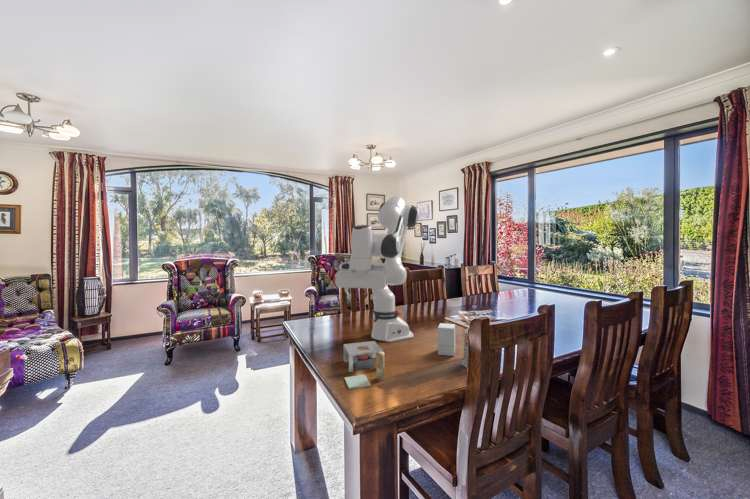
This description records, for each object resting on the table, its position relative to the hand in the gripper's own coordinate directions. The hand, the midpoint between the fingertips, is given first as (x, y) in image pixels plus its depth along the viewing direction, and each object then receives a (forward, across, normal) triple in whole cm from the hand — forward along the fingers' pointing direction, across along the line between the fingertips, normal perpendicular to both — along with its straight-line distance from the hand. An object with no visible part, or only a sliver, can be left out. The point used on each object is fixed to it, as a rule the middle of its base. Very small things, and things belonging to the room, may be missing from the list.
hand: (360, 299), depth 129 cm
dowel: (+28, -9, +9) cm, 31 cm away
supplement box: (+27, -38, -19) cm, 50 cm away
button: (+26, -1, -3) cm, 26 cm away
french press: (+27, -47, -7) cm, 55 cm away
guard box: (+28, -1, -4) cm, 28 cm away
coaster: (+28, -1, +12) cm, 31 cm away
